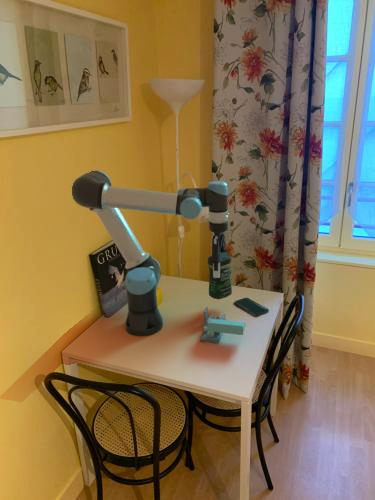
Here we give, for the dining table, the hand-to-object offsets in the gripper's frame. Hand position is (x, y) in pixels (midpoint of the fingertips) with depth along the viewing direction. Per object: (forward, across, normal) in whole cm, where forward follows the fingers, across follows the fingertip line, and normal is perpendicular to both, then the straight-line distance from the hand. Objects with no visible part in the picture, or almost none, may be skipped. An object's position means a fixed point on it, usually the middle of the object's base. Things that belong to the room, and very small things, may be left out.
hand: (219, 272), depth 168 cm
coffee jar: (+11, 0, 0) cm, 11 cm away
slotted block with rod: (+17, -18, -1) cm, 25 cm away
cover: (+12, -23, -7) cm, 27 cm away
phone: (+18, +4, -13) cm, 23 cm away
